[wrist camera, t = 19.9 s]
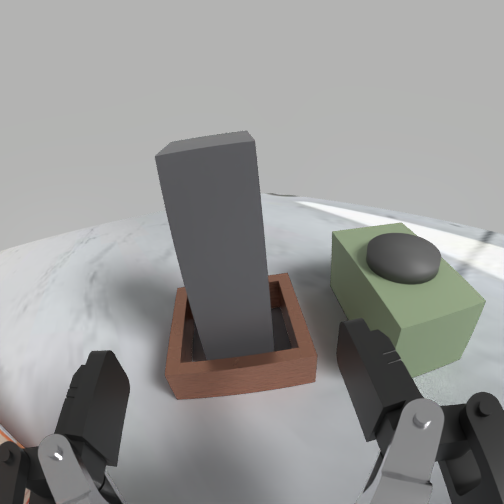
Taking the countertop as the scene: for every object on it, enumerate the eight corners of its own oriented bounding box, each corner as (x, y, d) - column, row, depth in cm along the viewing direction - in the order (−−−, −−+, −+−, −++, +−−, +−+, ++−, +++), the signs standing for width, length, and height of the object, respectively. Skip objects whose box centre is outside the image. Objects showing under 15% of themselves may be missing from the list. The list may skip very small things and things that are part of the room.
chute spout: (267, 320, 26) (247, 130, 18) (275, 363, 22) (254, 140, 14) (210, 328, 26) (170, 142, 18) (210, 371, 22) (154, 156, 14)
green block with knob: (394, 273, 30) (402, 213, 26) (459, 359, 19) (490, 289, 15) (330, 285, 30) (332, 221, 26) (381, 388, 18) (405, 315, 15)
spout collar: (288, 298, 29) (287, 272, 27) (315, 381, 20) (317, 355, 18) (185, 313, 28) (177, 288, 27) (177, 399, 19) (164, 375, 18)
